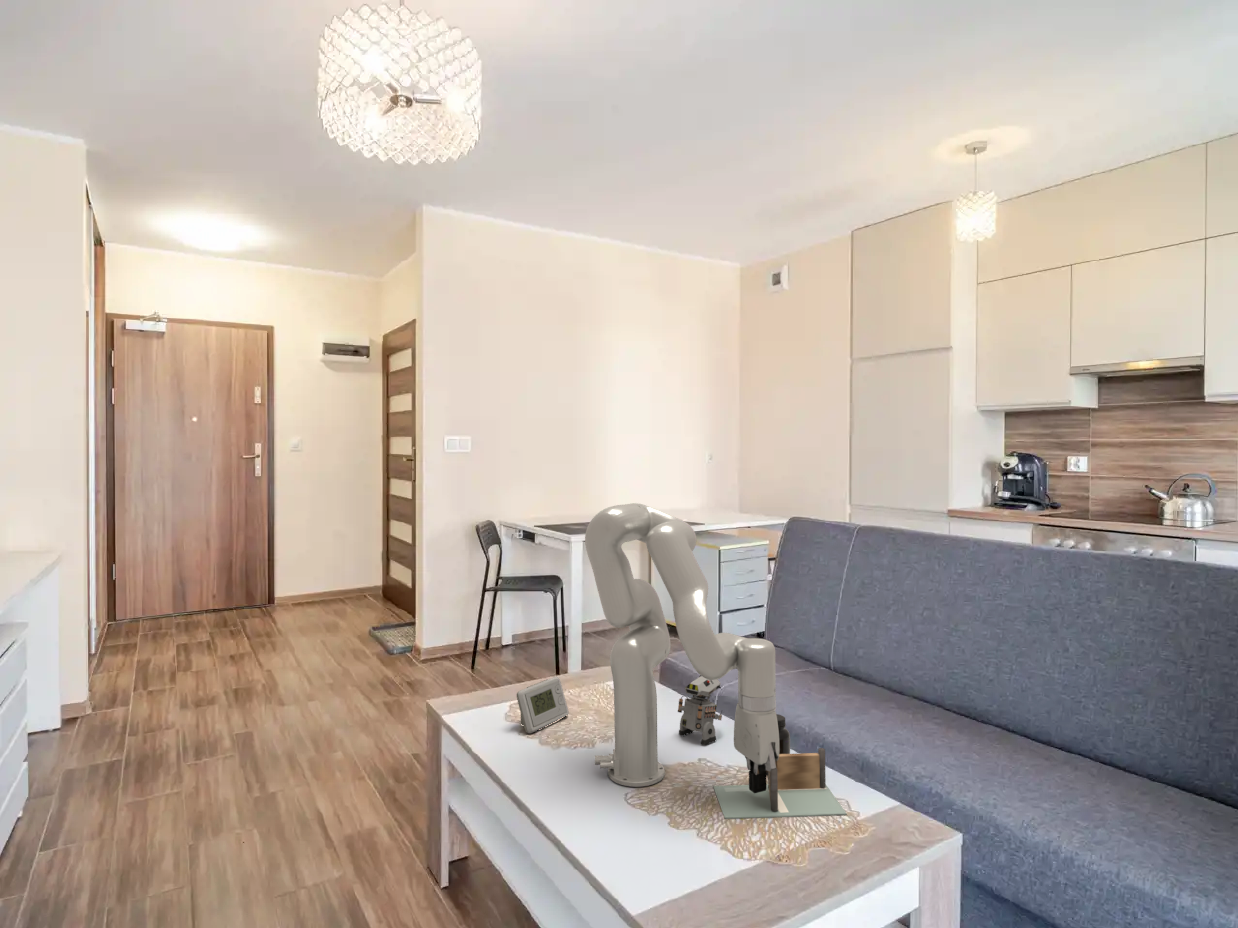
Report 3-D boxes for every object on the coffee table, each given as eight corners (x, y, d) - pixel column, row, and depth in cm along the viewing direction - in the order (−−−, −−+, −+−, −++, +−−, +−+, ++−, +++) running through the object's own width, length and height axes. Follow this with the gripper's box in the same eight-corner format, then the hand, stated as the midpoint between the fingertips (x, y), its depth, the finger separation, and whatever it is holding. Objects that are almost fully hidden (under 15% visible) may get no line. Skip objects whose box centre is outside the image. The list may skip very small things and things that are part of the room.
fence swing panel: (778, 811, 136) (777, 770, 136) (770, 810, 136) (770, 770, 136) (774, 786, 146) (774, 748, 146) (767, 785, 146) (767, 748, 146)
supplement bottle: (791, 778, 151) (790, 723, 150) (759, 776, 152) (758, 721, 152) (789, 765, 157) (789, 712, 157) (759, 762, 159) (758, 710, 159)
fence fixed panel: (777, 789, 145) (777, 751, 145) (775, 786, 146) (775, 749, 146) (826, 788, 145) (826, 750, 145) (824, 785, 147) (823, 747, 147)
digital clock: (527, 736, 175) (526, 695, 175) (507, 727, 182) (507, 686, 182) (577, 720, 186) (576, 680, 186) (556, 711, 193) (556, 673, 193)
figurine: (731, 735, 174) (731, 676, 174) (700, 748, 167) (699, 686, 167) (705, 725, 181) (704, 668, 181) (673, 737, 174) (673, 677, 174)
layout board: (724, 818, 134) (724, 817, 134) (713, 787, 147) (713, 785, 147) (846, 814, 135) (846, 813, 135) (824, 783, 148) (824, 782, 148)
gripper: (721, 692, 146) (722, 778, 146) (763, 716, 133) (764, 811, 133) (750, 687, 149) (751, 771, 150) (795, 709, 136) (796, 802, 136)
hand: (757, 790), depth 141 cm, fingers closed
